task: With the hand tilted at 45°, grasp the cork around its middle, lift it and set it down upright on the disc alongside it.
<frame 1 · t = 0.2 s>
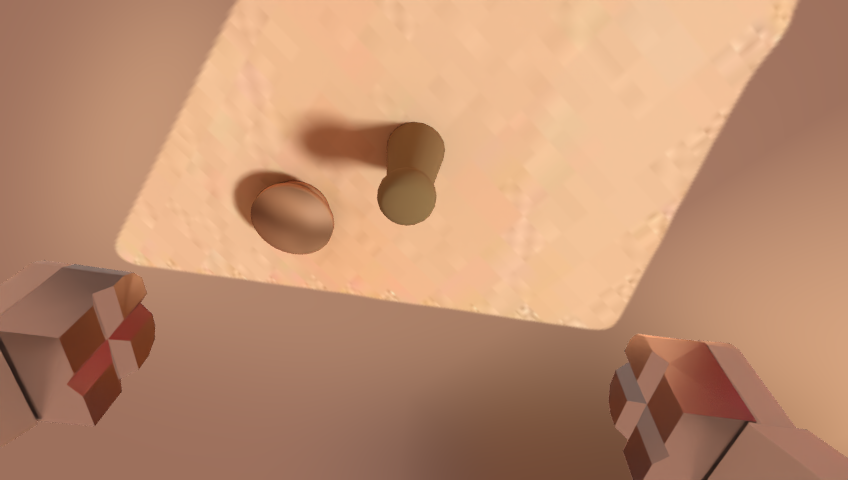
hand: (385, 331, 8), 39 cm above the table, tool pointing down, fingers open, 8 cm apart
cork: (416, 148, 49), on the table
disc: (299, 207, 54), on the table
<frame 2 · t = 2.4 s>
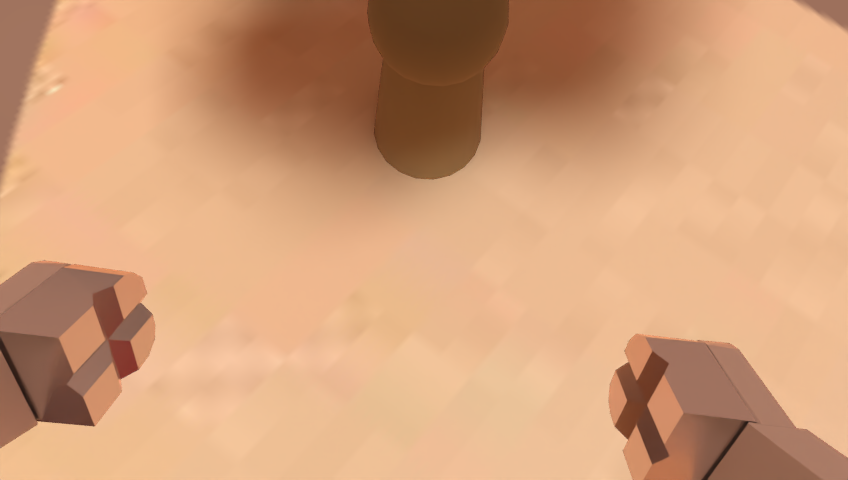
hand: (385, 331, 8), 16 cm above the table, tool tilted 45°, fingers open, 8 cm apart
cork: (427, 130, 27), on the table
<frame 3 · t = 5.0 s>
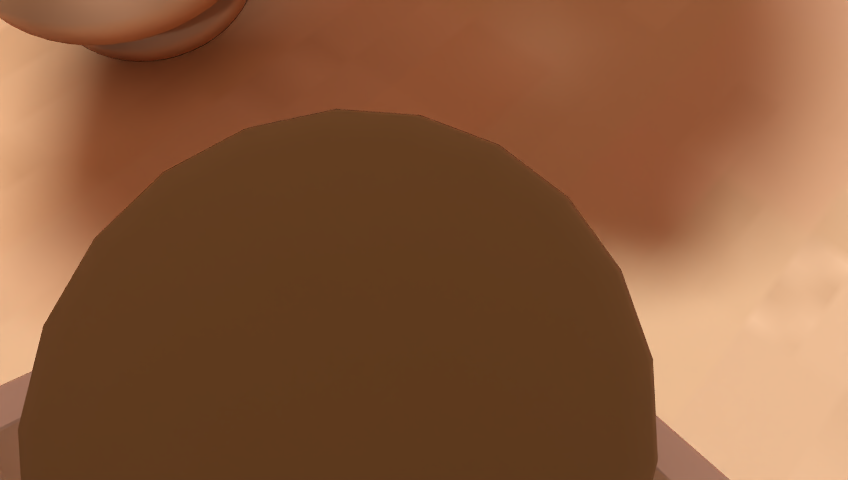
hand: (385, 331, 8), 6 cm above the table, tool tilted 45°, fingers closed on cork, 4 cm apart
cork: (392, 362, 14), on the table, touching gripper
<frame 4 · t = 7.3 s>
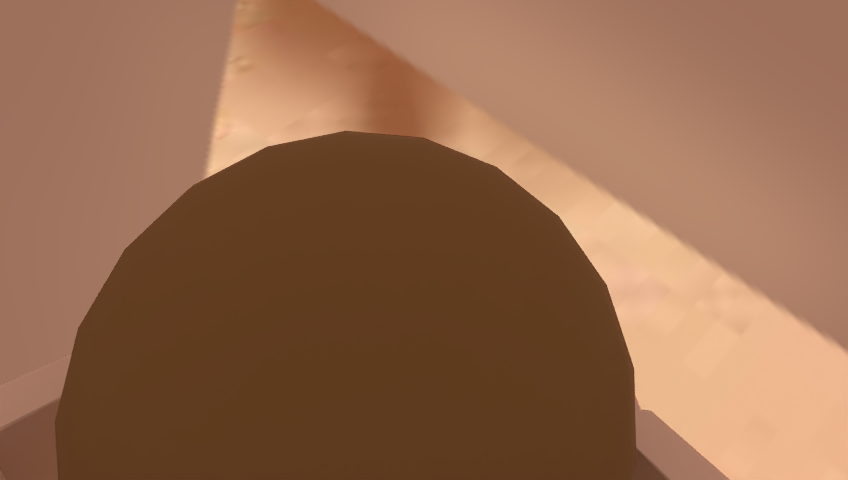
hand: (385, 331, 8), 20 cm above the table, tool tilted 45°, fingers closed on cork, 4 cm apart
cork: (392, 364, 14), point 13 cm above the table, touching gripper
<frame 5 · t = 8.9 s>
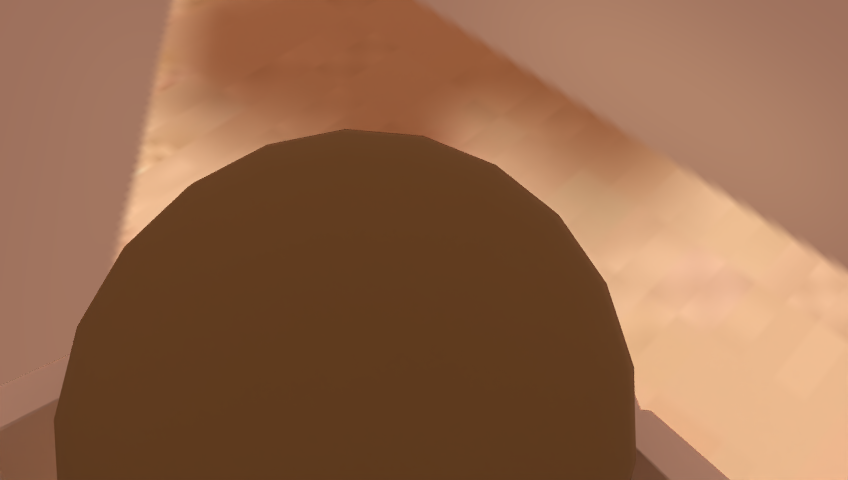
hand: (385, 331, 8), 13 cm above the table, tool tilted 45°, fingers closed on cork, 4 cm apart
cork: (392, 363, 14), point 6 cm above the table, touching gripper
when the fingers open (10 cm above the table, at t = 10.0 s): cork stays where it is, resting on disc.
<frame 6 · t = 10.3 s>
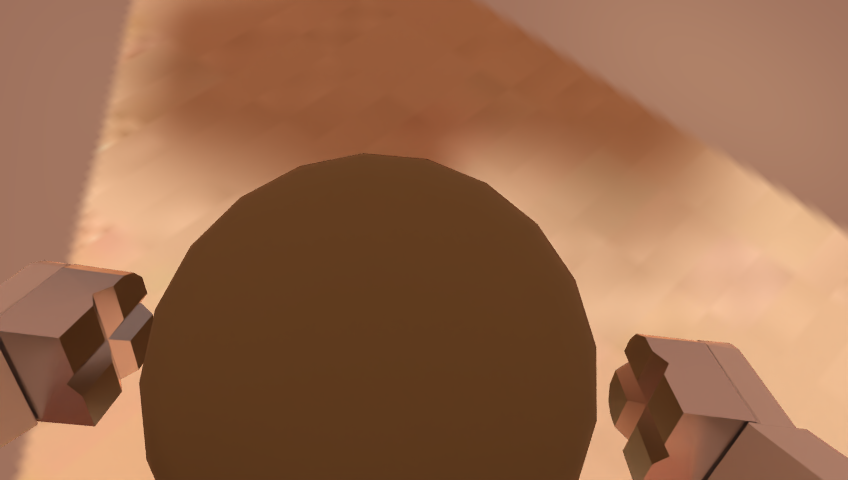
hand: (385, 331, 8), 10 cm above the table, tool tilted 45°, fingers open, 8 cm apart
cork: (395, 356, 15), point 3 cm above the table, touching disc
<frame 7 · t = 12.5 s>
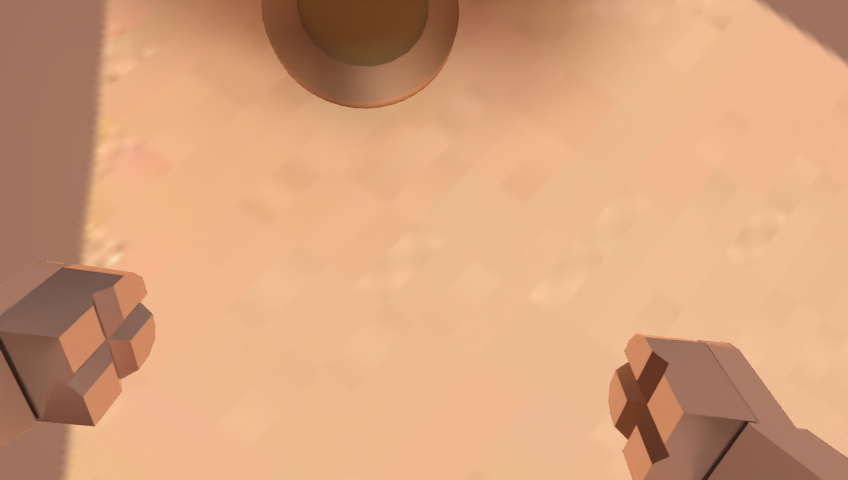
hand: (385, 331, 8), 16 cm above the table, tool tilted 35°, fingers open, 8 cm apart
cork: (364, 6, 22), point 3 cm above the table, touching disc
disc: (364, 40, 25), on the table
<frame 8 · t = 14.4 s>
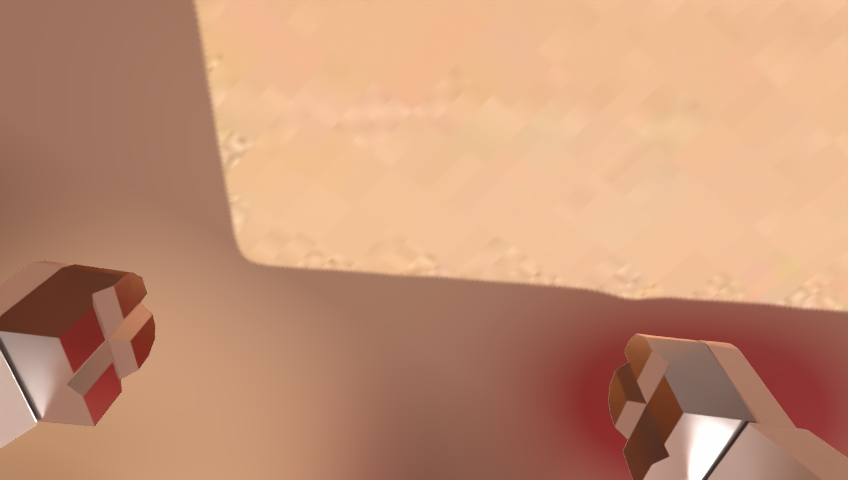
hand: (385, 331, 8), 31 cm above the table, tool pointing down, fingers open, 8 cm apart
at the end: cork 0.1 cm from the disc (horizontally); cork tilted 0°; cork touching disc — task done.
